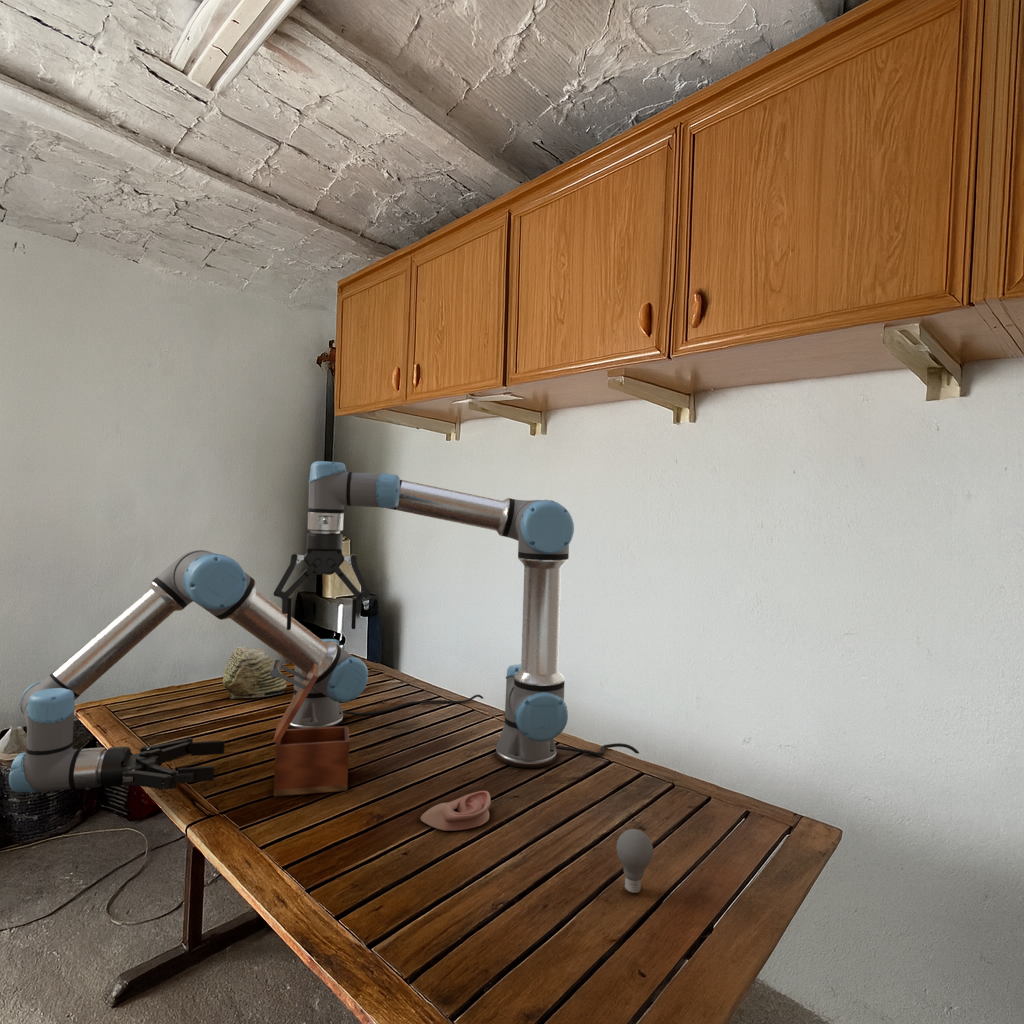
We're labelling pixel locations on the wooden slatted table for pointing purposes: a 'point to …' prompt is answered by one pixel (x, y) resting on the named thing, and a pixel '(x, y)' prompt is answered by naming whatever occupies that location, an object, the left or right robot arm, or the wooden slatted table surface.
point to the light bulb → (634, 857)
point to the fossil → (251, 674)
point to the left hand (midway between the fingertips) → (219, 759)
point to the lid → (297, 699)
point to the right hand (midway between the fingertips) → (321, 628)
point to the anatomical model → (459, 812)
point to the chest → (312, 761)
